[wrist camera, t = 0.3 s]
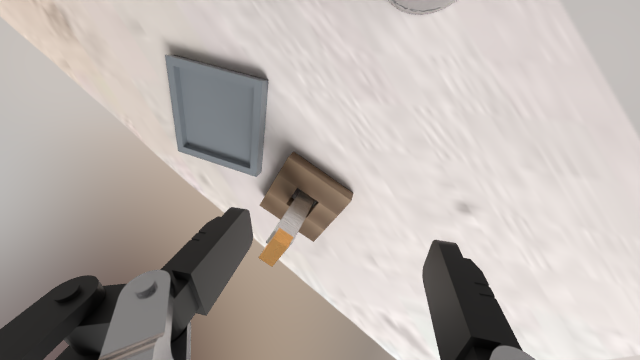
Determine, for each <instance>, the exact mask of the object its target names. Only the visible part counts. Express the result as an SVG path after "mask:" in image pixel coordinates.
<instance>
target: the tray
mask: <svg viewBox="0 0 640 360" xmlns="http://www.w3.org/2000/svg"><path fill="white" fill-rule="evenodd" d="M165 59H166V66H167V73H168V81H169V88H170V95H171V103H172V110H173V117H174V124H175V132H176V139H177V146H178V151H179V152H182V153H185V154H188V155H191V156H194V157H197V158H201V159H204V160H207V161H210V162H213V163H216V164H219V165H222V166H225V167H228V168H231V169H234V170H237V171H240V172H243V173H246V174H249V175H252V176H255V177H257V176H258V175H259V174H260V173H261V169H262V156H263V143H264V130H265V118H266V105H267V92H268V80H265V79H262V78H258V77H254V76H251V75H247V74H243V73H239V72H236V71H232V70H228V69H225V68H221V67H217V66H213V65H210V64H206V63H202V62H199V61H195V60H191V59H188V58H184V57H180V56H176V55H165Z"/></svg>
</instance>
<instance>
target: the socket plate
mask: <svg viewBox="0 0 640 360" xmlns="http://www.w3.org/2000/svg"><path fill="white" fill-rule="evenodd" d="M297 188H299V189H300V190H302V191H303V192H304V193H306V194H307V195H309V196H310V197H312V198H313V199H315V200H316V201H317V203H316V204H315V205H314V206H313V208H312V209H311V210H309V212H308V214H307V216H306V218H305V220H304V221H303V223H302V225H301V227H300V229H299V231H298V232H300V233H301V234H303V235H304V236H306V237H307V238H309V239H310V240H312V241H313V242H314V241H315V240H316V239H317V237H318V236H319V235H320V234H321V233H322V232H323V231H324V230H325V229H326V228H327V227H328V226H329V224H330V223H331V222H332V221H333V220H334V219H335V218H336V217H337V216H338V215H339V214H340V213H341V211H342V210H343V209H344V208H345V207H346V206H347V205H348V204H349V203H350V202H351V200H352V196H353V193H352V192H351V191H350V190H348V189H347V188H345V187H344V186H342V185H341V184H340V183H338V182H337V181H335V180H334V179H332V178H331V177H330V176H328V175H327V174H325V173H324V172H322V171H321V170H320V169H318V168H317V167H315V166H314V165H312V164H311V163H309V162H308V161H307V160H305V159H304V158H302V157H301V156H299V155H298V154H297V153H295V152H293V153H292V154H291V155H290V156H289V157H288V158H287V160H286V162H285V163H284V165H283V167H282V168H281V170H280V172H279V173H278V175H277V177H276V179H275V180H274V182H273V184H272V185H271V187H270V189H269V190H268V192H267V194H266V195H265V197H264V199H263V200H262V202H261V204H260V206H261V207H263V208H264V209H266V210H267V211H269V212H270V213H272V214H273V215H275V216H276V217H277V218H279V219H280V220H281V219H282V217H283V216H284V214H285V213H286V211H287V210H288V208H289V207H290V205H291V204H292V202H293V201H294V199H293V198H292V197H291V196H292V195H293V193H294V192H295V191H296V189H297Z"/></svg>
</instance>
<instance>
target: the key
mask: <svg viewBox="0 0 640 360" xmlns="http://www.w3.org/2000/svg"><path fill="white" fill-rule="evenodd" d="M314 200H315V199H313V198H312V197H310V196H309V195H307V194H306V193H304V192H303V191H302V190H300V192H299V193H298V195H297V196H296V198H295V199H294V201H293V202H292V204H291V205H290V207H289V208H288V210H287V211H286V213H285V214H284V216H283V217H282V219H281V220H280V222H279V223H278V225H277V226H276V228H275V229H274V231H273V232H272V234H271V235H270V237H269V238H268V240H267V241H266V243H267V246H266V247H265V248H264V250H263V252H262V253H261V255H260V256H259V259H261V260H263V261H264V262H266V263H267V264H269V265H270V266H273V265H274V264H275V263H276V261H277V260H278V259H279V258H280V257H281V255H282V254H283V253H284V252H285V251H286V250H287V249H288V247H289V246H290V245H291V244H292V243H293V241H294V239H295V237H296V235H297V233H298V231H299V229H300V227H301V225H302V223H303V221H304V220H305V218H306V216H307V214H308V212H309V210H310V208H311V206H312V204H313V202H314Z"/></svg>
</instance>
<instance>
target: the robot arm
mask: <svg viewBox="0 0 640 360" xmlns="http://www.w3.org/2000/svg"><path fill="white" fill-rule="evenodd" d="M388 1H389V2H390V3H391V4H392V5H393V6H395V7H396V8H398V9H399V10H401V11H403V12H406V13H409V14H418V15H422V14H429V13H434V12H436V11H439V10H441V9H444V8H446V7H447V6H449V5H451V4H452V3H454V2H455V1H457V0H388ZM252 240H253V232H252V225H251V218H250V213H249V211H248V210H247V209H240V208H234V207H231V208H229V209H228V210H227V211H226V212H225V214H224V215H223V216H222V217H216V218H215V219H213V220H211V221H210V222H208V223H207V224H206V225H204V227H202V229H200V230H199V233H197V234H196V235H195V236H194V237H193V238H192V240H190V241H189V242H188V243H187V244H186V245H185V246H184V247H183V248H182V249H181V250H180V251H179V252H178V253H177V254H176V255H175V256H174V257H173V258H172V259H171V260H170V261H169V262H168V263H167V264H166V265H165V266H164V267H163V268H162V269H160V270H153V271H149V272H146V273H143V274H141V275H139V276H137V277H136V278H134V279H133V280H131V281H130V282H129V283H128V284H118V285H108V286H102V285H101V283H100V282H99V280H98V279H97V278H96V277H95V276H80V277H77V278H74V279H71V280H68V281H67V282H64V283H62V284H60V285H59V286H57V287H55V288H54V289H52V290H51V291H50V292H48V293H47V294H46V295H45V296H43V297H42V298H40V299H39V300H38V301H37V302H35V303H34V304H33V305H32V306H30V307H29V308H27V309H26V310H25V311H24V312H22V313H21V314H20V315H19V316H17V317H16V318H15V319H13V320H12V321H11V322H9V323H8V324H7V325H5V326H4V327H3V328H1V329H0V360H43V359H44V358H45V357H46V356H47V355H48V354H49V353H50V352H51V351H52V350H53V349H54V348H55V347H56V346H57V345H58V344H60V343H61V342H62V341H63V340H65V341H66V343H67V344H69V346H68V347H67V348H66V349H65V350H64V351H63V352H62V353H61V354H60V355H59V356H58V357H57V358H56V359H55V360H190V354H191V322H190V320H191V319H192V317H193V316H194V315H195V313H198V314H202V315H207V314H208V312H209V311H210V309H211V308H212V306H213V305H214V303H215V301H216V300H217V298H218V297H219V295H220V294H221V292H222V291H223V289H224V287H225V286H226V284H227V283H228V281H229V280H230V278H231V276H232V275H233V273H234V272H235V270H236V269H237V267H238V266H239V264H240V262H241V261H242V259H243V258H244V256H245V255H246V253H247V252H248V250H249V248H250V246H251V244H252ZM423 283H424V288H425V292H426V297H427V301H428V306H429V310H430V314H431V319H432V323H433V328H434V332H435V337H436V341H437V346H438V350H439V355H440V359H441V360H535V359H534V358H533V357H531V356H530V355H528V354H527V353H525V352H523V350H522V348H521V347H520V345H519V343H518V341H517V339H516V337H515V335H514V333H513V331H512V329H511V327H510V325H509V323H508V321H507V319H506V317H505V316H504V314H503V312H502V310H501V308H500V306H499V304H498V302H497V300H496V299H495V298H494V297H495V296H494V294H493V292H492V290H491V288H490V287H489V284H488V282H487V280H486V278H485V276H484V274H483V272H482V271H481V270H480V269H479V268H478V267H477V266H476V265H475V263H474V262H473V261H472V260H471V259H467V258H463V256H462V254H461V252H460V249H459V247H458V245H457V244H456V243H452V242H446V241H440V240H434V241H433V242H432V244H431V247H430V250H429V252H428V255H427V258H426V260H425V263H424V266H423Z"/></svg>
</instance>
